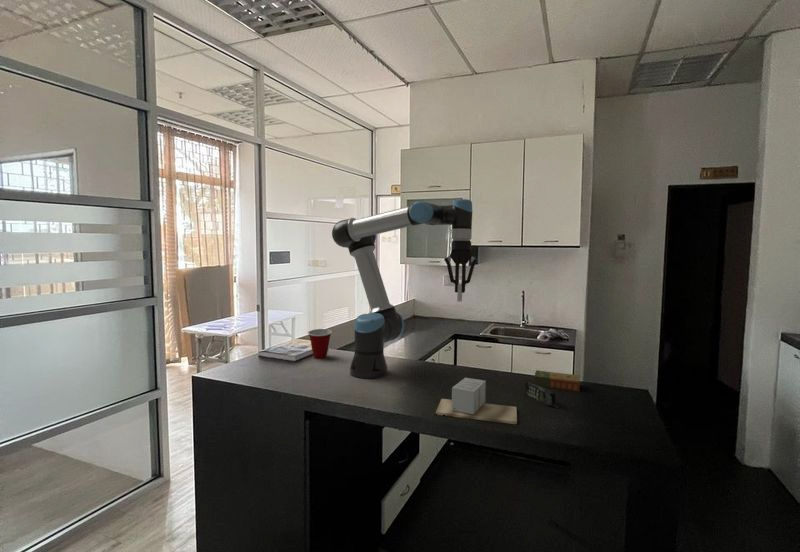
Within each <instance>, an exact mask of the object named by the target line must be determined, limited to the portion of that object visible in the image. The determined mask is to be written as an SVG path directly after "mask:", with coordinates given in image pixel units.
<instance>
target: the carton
mask: <svg viewBox="0 0 800 552" xmlns="http://www.w3.org/2000/svg"><path fill="white" fill-rule="evenodd" d="M533 383H535V384H538V385H540V386H542V387H544V388H550V389H551V388H552V389H559V390H567V391H573V392H580V388H581V387H580V375H579V374H570V373H562V372H554V371H546V370H545V371H543V370H537V369H536V370H535V372H534V376H533Z"/></svg>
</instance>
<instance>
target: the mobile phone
mask: <svg viewBox="0 0 800 552" xmlns="http://www.w3.org/2000/svg"><path fill="white" fill-rule="evenodd" d="M524 387H525V390H524V391H525V392H524V394H525V395H526V396H528V397H530V398H532V399H534V400H535V401H537V402H540V404H543V405H545V406H550V407H554V408H556V409H560V406H558V405H557V404H556V402H557V401H556V400H557V398H556V393H555V391H554V392H553V391H552V390H550V389H549V388H547V387H543V386H540V385H538V384H535V383H534V382H530V381H526V382H525V386H524Z"/></svg>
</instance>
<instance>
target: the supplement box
mask: <svg viewBox="0 0 800 552" xmlns="http://www.w3.org/2000/svg"><path fill="white" fill-rule="evenodd" d="M486 384H487V381H486V380H482V379H476V378H471V377H469V378H468V377H464V378H463V379H461V380H460V381H459V382H458V383H456V384H455V385H453V386H452V387H451V400H452V411H458V412H463V413H468V414H474V413H475V412H476V411H477V410H478V409H479V408H480V407H481V406H482V405H483V404H484V403H486V387H487V386H486Z"/></svg>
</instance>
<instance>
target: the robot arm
mask: <svg viewBox="0 0 800 552" xmlns="http://www.w3.org/2000/svg"><path fill="white" fill-rule="evenodd" d="M422 224H423V225H424V224H425V225H429V226H445V225H447V226H450V225H451V239H452V241H451V246H450V247H451V251H450V252H449V253H450V254H449V255H448V256H447V257H444V258H443V259H444V261H445V264H446V267H447V272H448V278H449V282H450V283H452V284H454V292H455V293H457V295H456V296H457V299H456V300H457V302H462V301H463V294H465V292H466V285H467V284H469V283H470V282H471V279H472V276H473V273H474V268H475V265H476V263H478V258H476V257H474V256H473V254H472V241H471V240H472V231H473V229H472V227H473V226H472V225H473V202H472V200H471V199H465V198H459V199H454V200H453V201H452V204H451V205H450V204H449V205H440V204H439V205H438V204H434V203H431V202H427V201H423V200H422V201H420V200H419V201H415V202H414V203H412V204H411V205H409V206H405V207H400V208H397V209H392V210H387V211H385V212H381V213H377V214H373V215H370V216H366V217H361V218H357V219H356V218H355V217H351V218H347V219H341V220H339V221H337V222H336V223H335V224H334V226H333V228H332V230H331V236H332V239H333V241H334V243H335V244H336V245H337V246H339V247H341V248H346V249H348V252H349V255H350V256H351V257H353V258H354V260H355V262H356V266H357V270H358V273H359V275H360V279H361V283H362V284H363V288H364V293H365V295H366V299H367V301H368V304H369V308H370V310H369V312H368V313H362V314H360V315H358V316H357V317H356V318H355V322H354V326H353V327H354V355H353V357H352V361H351V364H350V367H349V374H350V375H351V376H353V377H355V378H361V379H376V378H383V377H385V376H386V375H388V373H389V372H388V369H389V368H388V364H387V361H386V358H385V354H384V351H385V350H384V348H385V347H384V345H385V344H384V343H388V342H390V341H394V340H396V339H397V338H399V337H401V335H402V334H403V332H404V330H405V320H404V318H403V316H402V314H399V313H398V312H397V309H396V307H395V305H393V304H391V303H390V300H389V297H388V293H387V290H386V288H385V284H384V281H383V278H382V274H381V272H380V269H379V265H378V261H377V258H376V256H375V253H374V251H375V249H376V244H375V243H376V239H377V235H379V234H383V233H387V232H391V231H396V230H401V229H404V228H410V227H413V226H420V225H422ZM452 261H453V262H454V264H455V266H454V267H455V269H454V270H455V271H454V272H453V269H452V264H451V262H452ZM468 262H471V263H470V264H471V265H470V267H469V271H468V274H467V272H466V271H467V264H468ZM460 265H461V283H460V282H459V281H460ZM466 274H467V275H466ZM466 277H467V278H466Z"/></svg>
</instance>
